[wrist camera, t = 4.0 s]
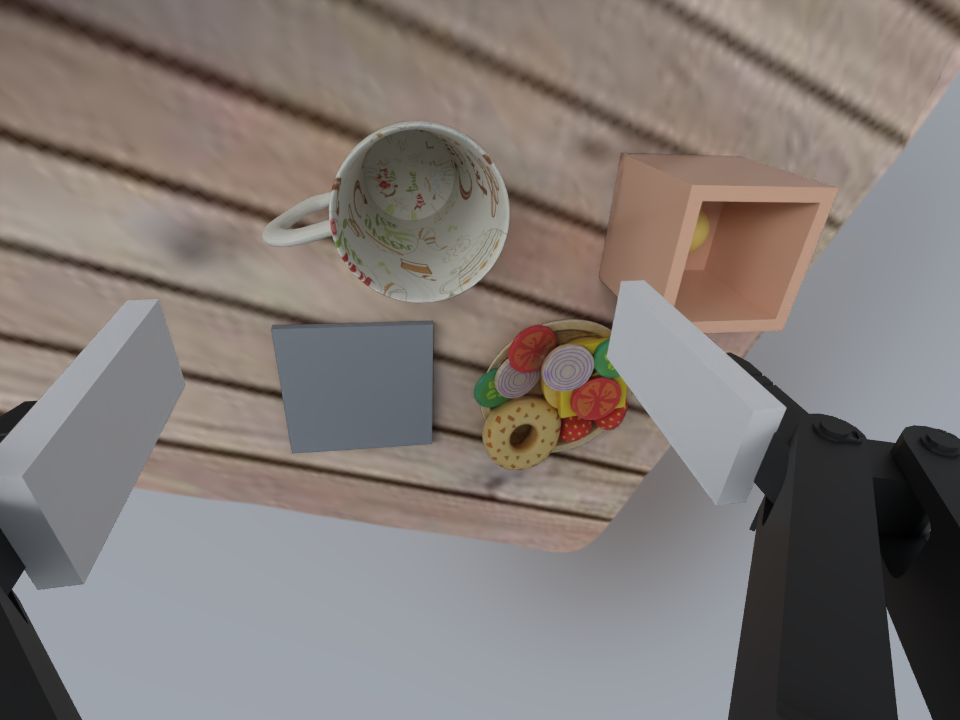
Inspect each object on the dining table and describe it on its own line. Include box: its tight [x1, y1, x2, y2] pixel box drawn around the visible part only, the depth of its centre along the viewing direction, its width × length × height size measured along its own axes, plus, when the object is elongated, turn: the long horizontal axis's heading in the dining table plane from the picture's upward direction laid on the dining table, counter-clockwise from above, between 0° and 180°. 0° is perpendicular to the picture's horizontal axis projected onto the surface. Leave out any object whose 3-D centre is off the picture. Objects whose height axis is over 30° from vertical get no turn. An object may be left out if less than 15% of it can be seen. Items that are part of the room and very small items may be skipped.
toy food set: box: [474, 319, 632, 470], centre depth 42 cm, size 13×13×3 cm
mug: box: [262, 121, 510, 303], centre depth 28 cm, size 8×13×10 cm, turn 105°
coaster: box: [271, 321, 433, 453], centre depth 39 cm, size 11×11×1 cm
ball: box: [689, 209, 710, 253], centre depth 35 cm, size 3×3×3 cm
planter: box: [599, 153, 839, 333], centre depth 33 cm, size 9×9×9 cm
